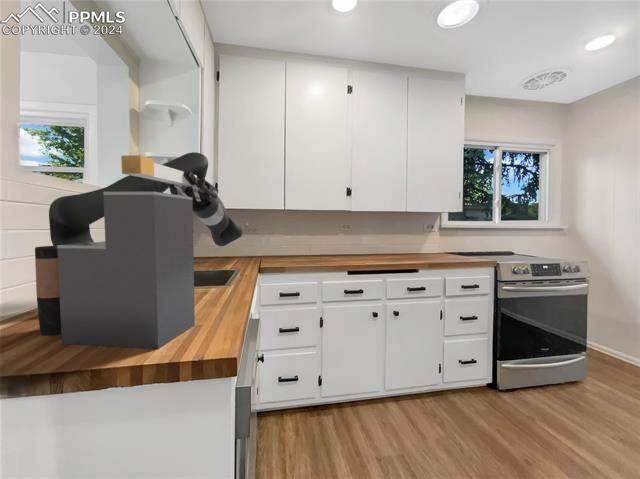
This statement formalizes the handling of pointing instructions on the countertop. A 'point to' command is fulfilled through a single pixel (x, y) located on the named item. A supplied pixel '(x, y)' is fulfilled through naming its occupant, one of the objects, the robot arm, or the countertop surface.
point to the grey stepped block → (131, 274)
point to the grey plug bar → (152, 170)
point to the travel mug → (48, 290)
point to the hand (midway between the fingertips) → (178, 172)
